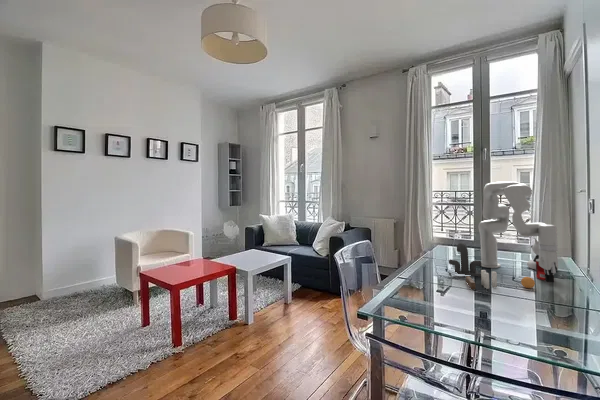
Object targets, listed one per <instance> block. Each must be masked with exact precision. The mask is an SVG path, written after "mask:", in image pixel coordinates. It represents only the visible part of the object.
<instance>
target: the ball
mask: <svg viewBox="0 0 600 400" xmlns="http://www.w3.org/2000/svg"><path fill="white" fill-rule="evenodd" d="M520 283H521V286H522V287H524V288H526V289H532V288H534V287H535V285H536V282H535V280H534V278H532V277H530V276H525V277H523V278H521V280H520Z"/></svg>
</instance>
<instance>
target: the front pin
mask: <svg viewBox="0 0 600 400" xmlns="http://www.w3.org/2000/svg"><path fill="white" fill-rule="evenodd" d="M497 274H498V273H497V271H493V270H492V271H491V287H492V288H494V287H497V288H498V279H497V278H498V275H497Z"/></svg>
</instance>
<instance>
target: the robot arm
mask: <svg viewBox="0 0 600 400" xmlns="http://www.w3.org/2000/svg"><path fill="white" fill-rule="evenodd" d="M482 193H483V205H482V217H483V218H484V219H486V220H482V221H480V222H479V223H478V227H477V228H478V231H479V238H480V261H481V263H482V265H481V266H480V267H482V268H488V269H498V268H500V267H501V264H500V263H499V262H498V241H497V238H496V237H495V236H494V235H496V234H503V233H506V232H507V230H508V227H509V220H510V209H509V207H508V206H507V205H506V204H502V203H501V204H499V202H500V198H499V197H498V196H504V197H505V198H506V201H507V202H508V203H509V205H510V207H511V208H512V210H513V213H512V218H511V220H512V224H513V227H514V229H515V230H516V233H518V234H519V235H520V236H521V237H523V238H524V237H525V238H527V237H528V238H532V237H538V242H539V266H540V267H542V268H544V272H545V280H544V281H545V282H547V283H554V282H555V274H557V272H556V271H558V270H559V260H558V254H557V253H558V252H559V251H558V250H559V249H558V232H557V231H558V229H557V226H556V225H555V224H548V223H545V222H525V221H524V218H523V217H522V215H523V213H525V212H526V211H528V210H529V209H530V208H531V204H530V202H529V200H528V199H529V198H530V197H531V196H532V194H533V190H532V188H531V187H530V186H529V185H528V184H525V183H521V182H518V181H513V180H511V181H496V182H495V181H494V182H489V183H486V184H485V186H484V187H483V192H482ZM527 198H528V199H527Z"/></svg>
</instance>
